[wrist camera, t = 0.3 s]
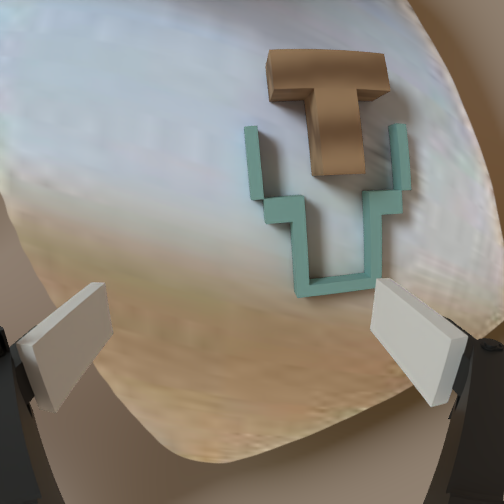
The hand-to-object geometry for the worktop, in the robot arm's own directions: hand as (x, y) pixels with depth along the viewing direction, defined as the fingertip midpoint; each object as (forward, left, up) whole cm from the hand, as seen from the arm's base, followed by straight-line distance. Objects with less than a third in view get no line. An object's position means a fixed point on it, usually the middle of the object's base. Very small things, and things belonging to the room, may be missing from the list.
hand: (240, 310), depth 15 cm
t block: (-13, +12, -27) cm, 32 cm away
